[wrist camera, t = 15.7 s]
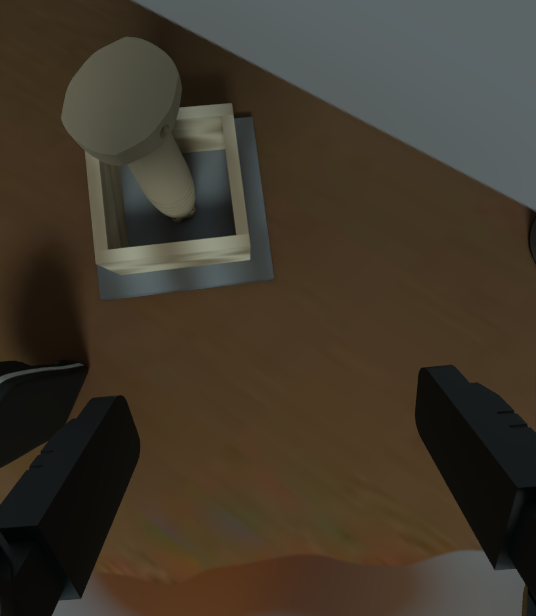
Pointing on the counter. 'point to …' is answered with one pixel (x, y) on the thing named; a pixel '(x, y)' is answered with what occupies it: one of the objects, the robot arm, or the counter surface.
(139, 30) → the counter surface
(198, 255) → the cream grey square tray
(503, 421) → the robot arm
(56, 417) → the battery charger
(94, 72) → the handle
